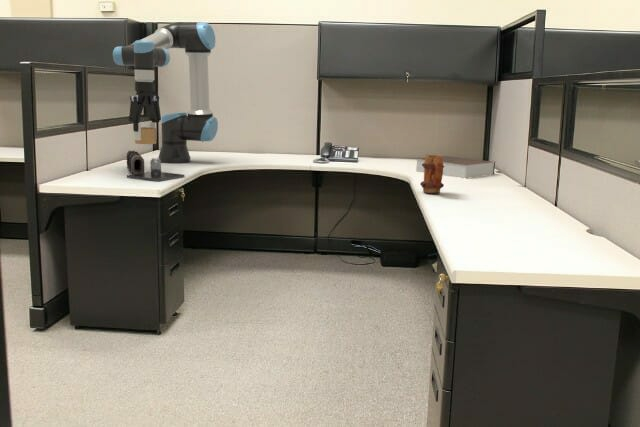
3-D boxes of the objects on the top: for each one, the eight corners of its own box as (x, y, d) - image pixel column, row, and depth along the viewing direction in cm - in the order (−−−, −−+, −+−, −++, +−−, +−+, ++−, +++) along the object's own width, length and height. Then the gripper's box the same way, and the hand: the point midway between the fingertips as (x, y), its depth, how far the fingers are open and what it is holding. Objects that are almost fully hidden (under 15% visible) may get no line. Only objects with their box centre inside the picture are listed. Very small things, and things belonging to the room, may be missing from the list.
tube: (141, 172, 295) (149, 173, 267) (126, 176, 292) (133, 178, 265) (134, 149, 293) (142, 147, 265) (119, 152, 291) (126, 151, 263)
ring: (145, 141, 265) (145, 127, 264) (160, 143, 262) (160, 128, 260) (130, 143, 259) (130, 127, 257) (145, 144, 255) (145, 129, 254)
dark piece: (154, 173, 273) (153, 155, 272) (184, 177, 266) (184, 158, 265) (126, 177, 259) (126, 158, 258) (158, 181, 252) (157, 162, 251)
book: (444, 168, 327) (445, 155, 326) (493, 175, 307) (495, 162, 306) (414, 172, 310) (415, 158, 309) (465, 179, 290) (466, 165, 289)
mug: (417, 190, 252) (420, 152, 249) (438, 191, 253) (441, 152, 250) (427, 197, 238) (429, 156, 235) (448, 197, 239) (451, 157, 236)
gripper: (156, 81, 266) (156, 137, 270) (117, 80, 248) (119, 140, 253) (170, 81, 262) (170, 138, 267) (132, 81, 245) (133, 141, 249)
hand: (145, 139), depth 260 cm, fingers closed on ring, 8 cm apart
